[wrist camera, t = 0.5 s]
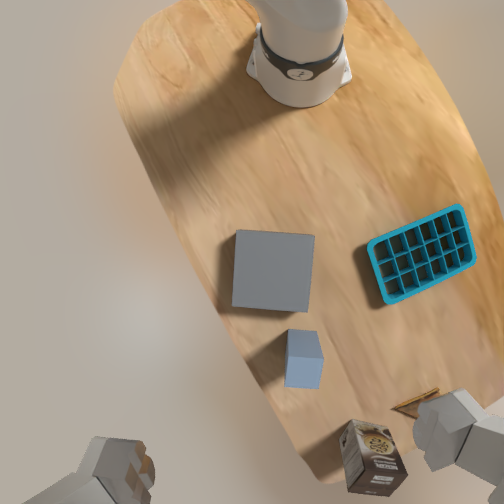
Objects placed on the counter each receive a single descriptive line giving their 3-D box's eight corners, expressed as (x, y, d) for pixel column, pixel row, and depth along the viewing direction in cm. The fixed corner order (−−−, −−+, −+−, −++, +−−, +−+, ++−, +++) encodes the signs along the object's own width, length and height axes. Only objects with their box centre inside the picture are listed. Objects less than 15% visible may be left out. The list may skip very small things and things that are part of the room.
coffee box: (388, 425, 55) (410, 474, 39) (373, 447, 55) (390, 498, 39) (351, 417, 55) (366, 469, 39) (337, 440, 56) (347, 493, 40)
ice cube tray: (470, 260, 51) (478, 262, 48) (380, 303, 53) (385, 307, 50) (453, 202, 50) (461, 201, 47) (360, 241, 53) (364, 242, 50)
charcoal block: (240, 229, 55) (236, 230, 50) (312, 234, 53) (314, 235, 48) (236, 298, 56) (231, 306, 51) (305, 304, 55) (307, 312, 50)
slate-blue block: (288, 328, 55) (288, 356, 43) (316, 331, 54) (323, 358, 43) (285, 354, 55) (284, 386, 44) (312, 356, 55) (318, 389, 43)
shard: (393, 405, 55) (395, 409, 53) (415, 375, 54) (418, 379, 52) (427, 419, 54) (430, 424, 52) (449, 391, 53) (452, 395, 51)
